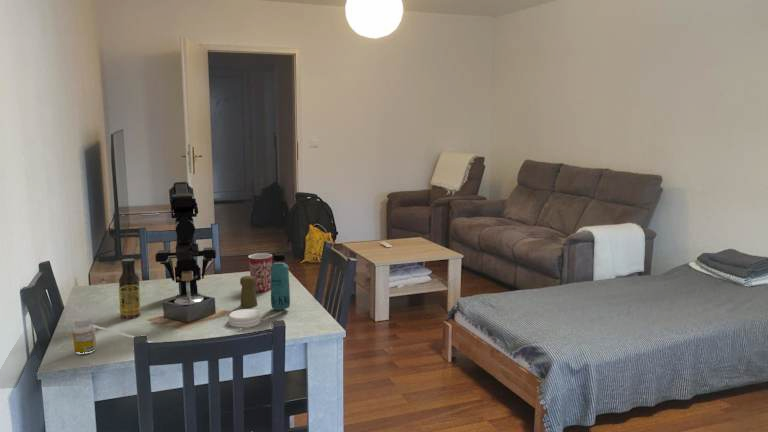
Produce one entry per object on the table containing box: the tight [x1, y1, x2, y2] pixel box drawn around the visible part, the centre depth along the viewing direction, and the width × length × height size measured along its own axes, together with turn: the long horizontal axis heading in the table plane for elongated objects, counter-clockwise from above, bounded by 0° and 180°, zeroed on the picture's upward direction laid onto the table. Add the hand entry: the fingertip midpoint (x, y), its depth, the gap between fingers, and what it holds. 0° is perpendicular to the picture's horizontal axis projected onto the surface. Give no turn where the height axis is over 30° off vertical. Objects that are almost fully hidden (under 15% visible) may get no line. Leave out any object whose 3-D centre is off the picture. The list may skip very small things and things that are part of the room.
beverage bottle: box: [269, 252, 291, 310], centre depth 195 cm, size 6×7×20 cm
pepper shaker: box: [239, 275, 258, 309], centre depth 201 cm, size 6×6×11 cm
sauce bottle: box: [118, 258, 141, 320], centre depth 190 cm, size 6×6×20 cm
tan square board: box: [144, 307, 233, 331], centre depth 191 cm, size 20×20×1 cm
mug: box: [247, 252, 273, 293], centre depth 223 cm, size 13×9×14 cm
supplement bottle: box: [72, 316, 97, 353], centre depth 162 cm, size 5×5×10 cm
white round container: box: [228, 308, 262, 329], centre depth 185 cm, size 10×10×4 cm
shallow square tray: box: [162, 293, 217, 324], centre depth 191 cm, size 14×12×6 cm
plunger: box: [174, 271, 204, 306], centre depth 190 cm, size 9×9×10 cm
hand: (188, 279), depth 191 cm, fingers open, 9 cm apart
